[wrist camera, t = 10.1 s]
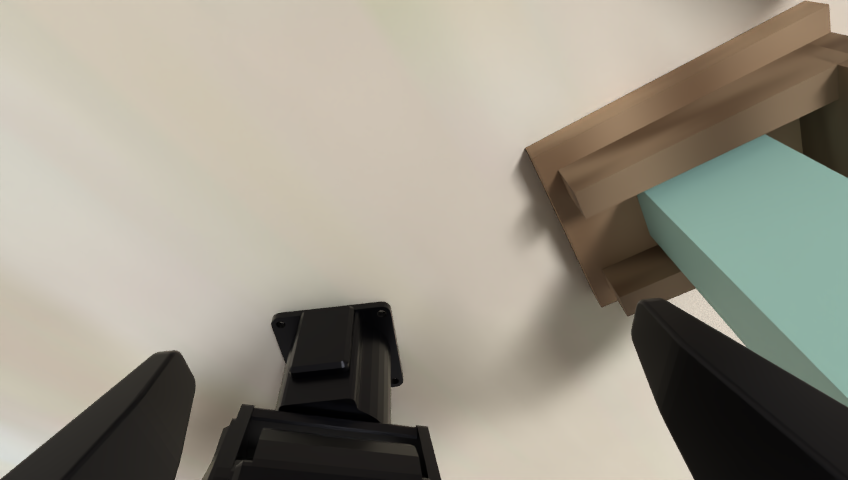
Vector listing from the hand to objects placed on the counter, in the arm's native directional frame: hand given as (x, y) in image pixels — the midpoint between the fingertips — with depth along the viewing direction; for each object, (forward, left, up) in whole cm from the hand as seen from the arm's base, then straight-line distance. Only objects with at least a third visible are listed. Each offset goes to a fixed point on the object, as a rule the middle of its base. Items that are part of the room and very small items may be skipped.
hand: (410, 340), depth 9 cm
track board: (-4, -13, -13) cm, 19 cm away
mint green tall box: (-4, -13, -12) cm, 18 cm away
